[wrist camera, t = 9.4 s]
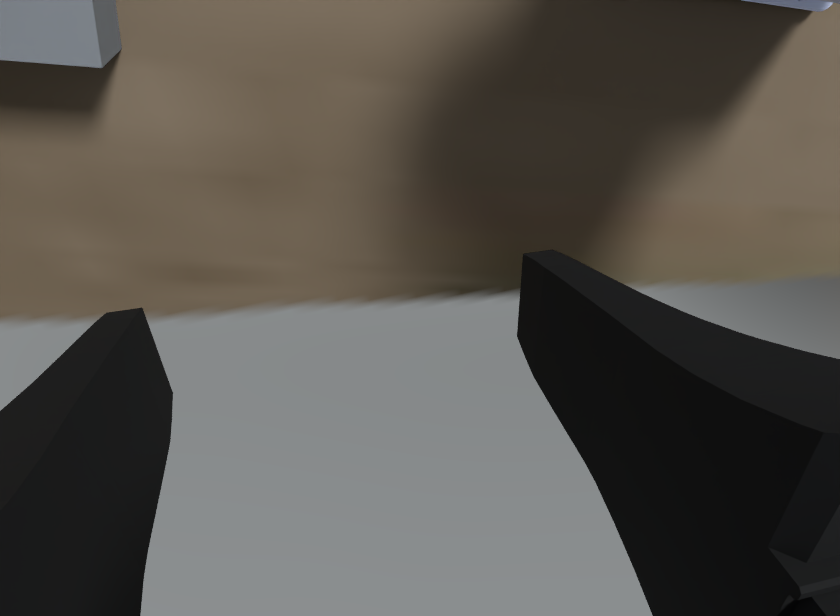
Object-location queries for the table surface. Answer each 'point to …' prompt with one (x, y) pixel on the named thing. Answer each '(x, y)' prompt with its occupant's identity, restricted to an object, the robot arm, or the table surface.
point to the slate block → (59, 31)
